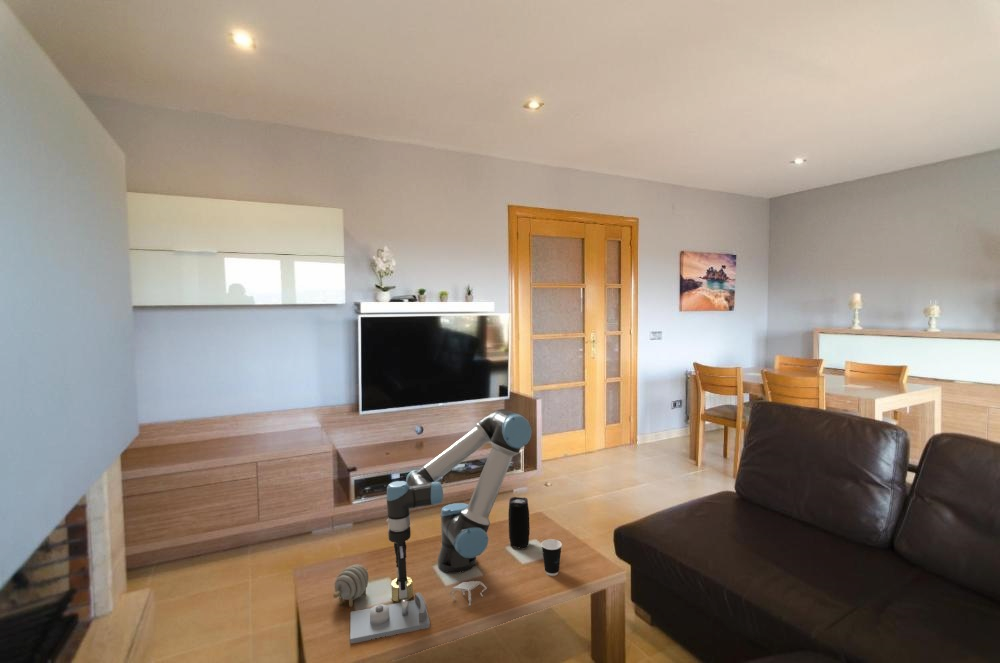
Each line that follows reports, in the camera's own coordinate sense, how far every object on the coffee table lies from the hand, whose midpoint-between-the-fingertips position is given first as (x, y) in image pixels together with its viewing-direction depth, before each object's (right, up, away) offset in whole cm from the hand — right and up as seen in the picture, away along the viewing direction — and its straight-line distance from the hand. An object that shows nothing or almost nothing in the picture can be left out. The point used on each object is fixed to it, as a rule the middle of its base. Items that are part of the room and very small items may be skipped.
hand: (402, 591), depth 171 cm
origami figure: (+24, -2, -2) cm, 24 cm away
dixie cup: (+54, 0, +14) cm, 56 cm away
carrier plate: (-1, -2, -14) cm, 14 cm away
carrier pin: (+3, -1, -12) cm, 13 cm away
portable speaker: (+42, 0, +36) cm, 55 cm away
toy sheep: (-18, -2, -1) cm, 18 cm away
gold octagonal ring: (0, -2, 0) cm, 2 cm away
